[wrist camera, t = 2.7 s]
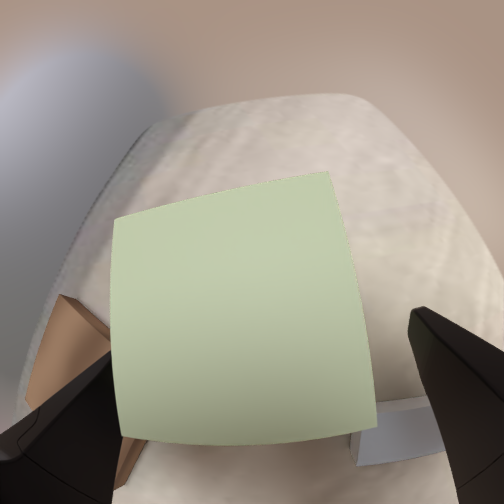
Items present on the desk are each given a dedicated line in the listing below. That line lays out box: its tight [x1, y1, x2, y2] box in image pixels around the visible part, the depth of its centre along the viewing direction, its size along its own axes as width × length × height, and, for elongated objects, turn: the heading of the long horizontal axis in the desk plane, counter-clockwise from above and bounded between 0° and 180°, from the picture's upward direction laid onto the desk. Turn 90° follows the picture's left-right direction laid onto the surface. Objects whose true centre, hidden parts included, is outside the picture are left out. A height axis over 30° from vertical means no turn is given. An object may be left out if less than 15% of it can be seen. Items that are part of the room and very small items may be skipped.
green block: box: [110, 171, 377, 446], centre depth 10 cm, size 4×4×12 cm
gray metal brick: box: [350, 395, 446, 467], centre depth 11 cm, size 6×3×3 cm, turn 87°
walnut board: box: [25, 294, 146, 490], centre depth 15 cm, size 11×11×2 cm
